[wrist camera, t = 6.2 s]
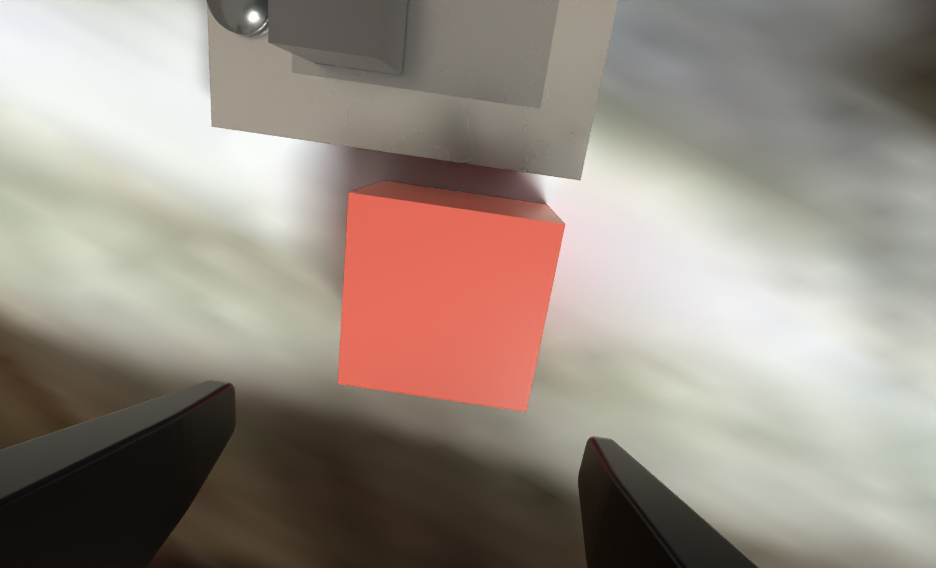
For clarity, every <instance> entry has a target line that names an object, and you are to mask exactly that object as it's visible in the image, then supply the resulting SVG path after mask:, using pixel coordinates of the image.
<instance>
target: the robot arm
mask: <svg viewBox="0 0 936 568" xmlns="http://www.w3.org/2000/svg"><path fill="white" fill-rule="evenodd" d="M235 424H236V400H235V388H234V386H233V385H232V384H231V383H228V382H221V381H214V380H209V381H206V382H203V383H200V384H197V385H194V386H191V387H188V388H185V389H182V390H179V391H176V392H173V393H170V394H167V395H164V396H161V397H158V398H155V399H152V400H149V401H146V402H143V403H140V404H137V405H134V406H131V407H128V408H125V409H122V410H119V411H116V412H113V413H110V414H107V415H104V416H101V417H98V418H95V419H92V420H89V421H86V422H83V423H80V424H77V425H74V426H71V427H68V428H65V429H62V430H59V431H55V432H52V433H49V434H46V435H43V436H40V437H37V438H34V439H31V440H28V441H25V442H22V443H19V444H16V445H13V446H10V447H7V448H4V449H1V450H0V568H146V567H147V565H148V564H149V562H150V561H151V560H152V558H153V557H154V556H155V554H156V553H157V551H158V550H159V549H160V547H161V546H162V545H163V543H164V542H165V540H166V539H167V538H168V536H169V535H170V533H171V532H172V531H173V529H174V528H175V527H176V525H177V524H178V522H179V521H180V520H181V518H182V517H183V515H184V514H185V512H186V511H187V510H188V508H189V507H190V505H191V503H192V502H193V500H194V499H195V497H196V495H197V494H198V492H199V490H200V488H201V487H202V485H203V483H204V482H205V480H206V478H207V477H208V475H209V473H210V471H211V470H212V468H213V466H214V465H215V463H216V461H217V459H218V458H219V456H220V454H221V453H222V451H223V449H224V447H225V446H226V444H227V442H228V441H229V439H230V437H231V435H232V434H233V431H234V428H235ZM578 487H579V497H580V506H581V515H582V524H583V533H584V543H585V552H586V560H587V567H588V568H759V567H758V566H757V565H756V564H755V563H754V562H752V561H751V560H750V559H749V558H748V557H747V556H746V555H744V554H743V553H742V552H741V551H740V550H739V549H737V548H736V547H735V546H734V545H733V544H732V543H731V542H729V541H728V540H727V539H726V538H725V537H724V536H723V535H721V534H720V533H719V532H718V531H717V530H716V529H715V528H713V527H712V526H711V525H710V524H709V523H708V522H706V521H705V520H704V519H703V518H702V517H701V516H700V515H698V514H697V513H696V512H695V511H694V510H693V509H692V508H690V507H689V506H688V505H687V504H686V503H685V502H683V501H682V500H681V499H680V498H679V497H678V496H677V495H675V494H674V493H673V492H672V491H671V490H670V489H669V488H667V487H666V486H665V485H664V484H663V483H662V482H660V481H659V480H658V479H657V478H656V477H655V476H654V475H652V474H651V473H650V472H649V471H648V470H647V469H646V468H644V467H643V466H642V465H641V464H640V463H639V462H637V461H636V460H635V459H634V458H633V457H632V456H631V455H629V454H628V453H627V452H626V451H625V450H624V449H623V448H621V447H620V446H619V445H618V444H617V443H616V442H614V441H613V440H611V439H607V438H600V437H590V438H589V439H588V441H587V444H586V447H585V451H584V455H583V459H582V463H581V467H580V471H579V476H578Z"/></svg>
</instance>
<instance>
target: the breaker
mask: <svg viewBox="0 0 936 568" xmlns="http://www.w3.org/2000/svg"><path fill="white" fill-rule="evenodd" d="M407 4H408V0H268V43H270V44H273V45H275V46H277V47H279V48H281V49H284V50H286V51H288V52H290V53H293V54H295V55H297V56H299V57H301V58H304V59H306V60H308V61H310V62H315V63H322V64H329V65H336V66H343V67H349V68H356V69H363V70H370V71H377V72H384V73H391V74H398V75H402V63H403V51H404V40H405V28H406V16H407Z"/></svg>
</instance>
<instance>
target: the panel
mask: <svg viewBox="0 0 936 568" xmlns="http://www.w3.org/2000/svg"><path fill="white" fill-rule="evenodd" d="M207 4H208V33H209V62H210V91H211V120H212V127H218V128H225V129H232V130H239V131H245V132H252V133H259V134H266V135H273V136H280V137H287V138H293V139H300V140H307V141H314V142H321V143H328V144H335V145H341V146H348V147H355V148H362V149H369V150H376V151H383V152H390V153H396V154H403V155H410V156H417V157H424V158H431V159H438V160H444V161H451V162H458V163H465V164H472V165H479V166H486V167H492V168H499V169H506V170H513V171H520V172H527V173H534V174H541V175H547V176H554V177H561V178H568V179H575V180H580V179H581V175H582V170H583V165H584V160H585V156H586V151H587V146H588V141H589V137H590V132H591V127H592V122H593V118H594V113H595V108H596V103H597V99H598V94H599V89H600V84H601V80H602V75H603V70H604V65H605V61H606V56H607V51H608V46H609V42H610V37H611V32H612V27H613V23H614V18H615V13H616V8H617V4H618V0H408V4H407V16H406V28H405V40H404V51H403V63H402V75H398V74H391V73H384V72H377V71H370V70H363V69H356V68H349V67H343V66H336V65H329V64H322V63H315V62H310V61H308V60H306V59H304V58H301V57H299V56H297V55H295V54H293V53H290V52H288V51H286V50H284V49H281V48H279V47H277V46H275V45H273V44H270V43H268V0H207Z"/></svg>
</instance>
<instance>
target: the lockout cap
mask: <svg viewBox="0 0 936 568" xmlns="http://www.w3.org/2000/svg"><path fill="white" fill-rule="evenodd" d="M564 228H565V223H564V222H563V221H562V220H561V219H560V218H559V217H558V216H557V215H556V214H555V212H554V211H553V210H552V209H551V208H550V207H549V206H548V205H547V204H542V203H535V202H528V201H521V200H514V199H507V198H501V197H494V196H487V195H480V194H473V193H466V192H460V191H453V190H446V189H439V188H432V187H425V186H418V185H412V184H405V183H398V182H391V181H384V180H383V181H380V182H377V183H374V184H372V185H369V186H366V187H363V188H360V189H357V190H354V191H351V192H349V194H348V212H347V230H346V248H345V266H344V284H343V301H342V319H341V337H340V355H339V373H338V384H342V385H348V386H355V387H362V388H369V389H375V390H382V391H389V392H396V393H402V394H409V395H416V396H423V397H429V398H436V399H443V400H450V401H456V402H463V403H470V404H477V405H483V406H490V407H497V408H504V409H510V410H517V411H524V412H527V407H528V402H529V397H530V392H531V388H532V383H533V378H534V373H535V368H536V363H537V358H538V354H539V349H540V344H541V339H542V334H543V329H544V325H545V320H546V315H547V310H548V305H549V300H550V295H551V291H552V286H553V281H554V276H555V271H556V266H557V262H558V257H559V252H560V247H561V242H562V237H563V232H564Z"/></svg>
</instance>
